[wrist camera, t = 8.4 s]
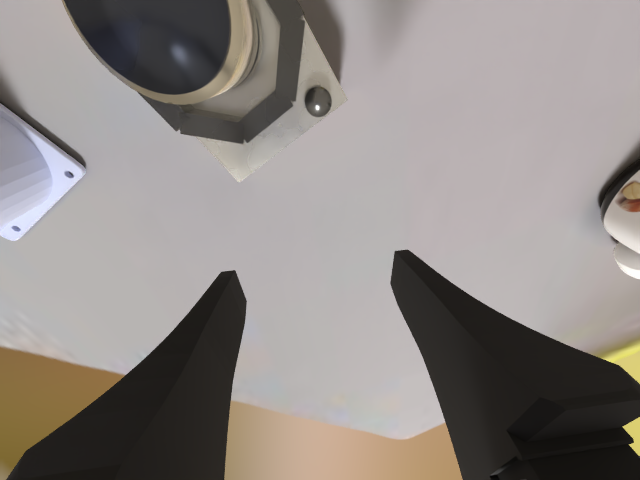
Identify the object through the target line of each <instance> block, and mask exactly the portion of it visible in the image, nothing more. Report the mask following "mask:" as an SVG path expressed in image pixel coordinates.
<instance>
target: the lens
mask: <svg viewBox="0 0 640 480" xmlns="http://www.w3.org/2000/svg"><path fill="white" fill-rule="evenodd" d="M62 2H63V5H64V7H65V9H66V12H67V14H68V15H69V17H70V19H71V21H72V23H73V25H74V27H75V28H76V30H77V32H78V33H79V35H80V37H81V38H82V40H83V41H84V42H85V44H86V45H87V46H88V48H89V49H90V51H91V52H92V53H93V54H94V55H95V56H96V58H97V59H98V60H99V61H100V62H101V63H102V64H103V65H104V66H105V67H106V68H107V69H108V70H109V71H110V72H111V73H112V74H113V75H114V76H116V77H117V78H118V79H119V80H121V81H122V82H123V83H125V84H126V85H128V86H129V87H130V88H132V89H134V90H135V91H137V92H139V93H141V94H143V95H145V96H147V97H149V98H152V99H154V100H157V101H161V102H164V103H170V104H180V105H186V104H194V103H198V102H201V101H204V100H206V99H209V98H211V97H214V96H216V95H218V94H221V93H223V92H226V91H228V90H230V89H233V88H235V87H238V86H240V85H242V84H243V83H245V82H246V81H247V80H248V79H249V78H250V77H251V76H252V75H253V73H254V72H255V70H256V68H257V66H258V64H259V61H260V57H261V52H262V30H261V25H260V21H259V17H258V14H257V12H256V9H255V7H254V5H253V3H252V1H251V0H62Z"/></svg>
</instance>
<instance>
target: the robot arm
mask: <svg viewBox="0 0 640 480" xmlns="http://www.w3.org/2000/svg"><path fill="white" fill-rule="evenodd" d="M69 171H70V172H71V173H72V174H73V175H74V176H72V175H71V174H70V173H69ZM85 173H86V170H85V168H84V166H83V165H82V164H80V163H79V162H78V161H76V160H75V159H74V158H72V157H71V156H70V155H68V154H67V153H66V152H64V151H63V150H62V149H60V148H59V147H58V146H56V145H55V144H54V143H52V142H51V141H50V140H48V139H47V138H46V137H44V136H43V135H42V134H40V133H39V132H38V131H37V130H35V129H34V128H33V127H31V126H30V125H29V124H27V123H26V122H25V121H23V120H22V119H21V118H19V117H18V116H17V115H15V114H14V113H13V112H11V111H10V110H9V109H7V108H6V107H5V106H3V105H2V104H1V103H0V235H1V236H2V237H4V238H6V239H9V240H13V241H15V240H18V239H19V238H21V237H22V236H23V235H24V234H25V233H26V232H27V231H28V230H29V229H30V228H31V227H32V226H33V225H34V224H35V223H36V222H37V221H38V220H39V219H40V218H41V217H42V216H43V215H44V214H45V213H46V212H47V211H48V210H49V209H50V208H51V207H52V206H53V205H54V204H55V203H56V202H57V201H58V200H59V199H60V198H61V197H62V196H63V195H64V194H65V193H66V192H68V191H69V190H70V189H71V188H72V187H73V186H74V185H75V184H76V183H77V182H78V181H79V180H80V179H81V178H82V177H83V176H84V175H85ZM391 286H392V290H393V293H394V296H395V298H396V301H397V304H398V306H399V308H400V310H401V312H402V314H403V317H404V319H405V321H406V323H407V325H408V327H409V329H410V331H411V333H412V335H413V337H414V339H415V341H416V343H417V345H418V347H419V350H420V352H421V354H422V356H423V359H424V362H425V364H426V367H427V370H428V372H429V375H430V378H431V381H432V383H433V386H434V389H435V392H436V395H437V398H438V401H439V403H440V406H441V409H442V413H443V416H444V419H445V422H446V425H447V428H448V431H449V434H450V437H451V441H452V444H453V447H454V451H455V454H456V457H457V461H458V464H459V468H460V471H461V475H462V478H463V480H640V456H638V455H637V454H636V453H635V451H634V450H633V449H632V448H631V447H630V446H629V445H628V444H631V443H634V441H633V438H632V437H631V436H630V435H629V434H628V433H627V432H626V431H625V430H624V428H623V427H622V426H624V425H626V424H628V423H629V422H631V421H633V420H635V419H636V418H638V417H640V384H639V383H638V382H637V381H635V379H634V378H632V377H631V376H630V375H629V374H628V373H627V372H626V371H625V370H624V369H623V368H621V367H620V366H619V365H616V364H614V363H611V362H609V361H606V360H603V359H601V358H598V357H596V356H593V355H591V354H588V353H585V352H583V351H580V350H578V349H575V348H573V347H570V346H568V345H566V344H563V343H561V342H559V341H556V340H554V339H552V338H550V337H547V336H545V335H543V334H541V333H539V332H537V331H534V330H532V329H530V328H528V327H526V326H524V325H522V324H520V323H518V322H516V321H514V320H512V319H510V318H508V317H506V316H505V315H503V314H501V313H499V312H497V311H495V310H494V309H492V308H490V307H489V306H487V305H485V304H483V303H482V302H480V301H478V300H477V299H475V298H473V297H472V296H470V295H469V294H467V293H466V292H464V291H463V290H461V289H460V288H458V287H457V286H455V285H454V284H453V283H451V282H450V281H448V280H447V279H446V278H444V277H443V276H441V275H440V274H439V273H437V272H436V271H435V270H434V269H432V268H431V267H430V266H428V265H427V264H426V263H425V262H423V261H422V260H421V259H419V258H418V257H417V256H416V255H414V254H413V253H412V252H410V251H409V250H401V251H395V254H394V261H393V268H392V276H391ZM246 302H247V301H246V298H245V296H244V293H243V290H242V287H241V285H240V282H239V279H238V277H237V274H236V271H235V270H233V271H225V272H221V273H220V274H219V275H218V277H217V278H216V279H215V280H214V282H213V283H212V284H211V286H210V287H209V288H208V289H207V291H206V292H205V293H204V294H203V296H202V297H201V298H200V300H199V301H198V302H197V303H196V304H195V306H194V307H193V308H192V309H191V311H190V312H189V313H188V314H187V315H186V316H185V318H184V319H183V320H182V321H181V322H180V323H179V324H178V325H177V327H176V328H175V329H174V330H173V331H172V332H171V333H170V334H169V335H168V336H167V337H166V338H165V339H164V340H163V341H162V342H161V343H160V344H159V345H158V346H157V347H156V348H155V349H154V350H153V351H152V352H151V353H150V354H149V355H148V356H147V357H146V358H145V359H144V360H143V361H141V362H140V363H139V364H138V365H137V366H136V367H135V368H133V369H132V370H131V371H130V372H129V373H128V374H127V375H126V376H124V377H123V378H122V379H121V380H120V381H119V382H117V383H116V384H115V385H114V386H113V387H111V388H110V389H109V390H108V391H106V392H105V393H104V394H103V395H102V396H100V397H99V398H98V399H96V400H95V401H94V402H93V403H91V404H90V405H89V406H87V407H86V408H85V409H84V410H82V411H81V412H80V413H78V414H77V415H76V416H75V417H73V418H72V419H70V420H69V421H68V422H66V423H65V424H63V425H62V426H60V427H59V428H58V429H56V430H55V431H54V432H52V433H51V434H49V436H47V437H45V438H44V439H42V440H41V441H40V442H38V443H37V444H35V445H34V446H32V447H31V448H30V449H28V450H27V451H26V452H25V453H24V455H23V456H22V457H21V459H20V460H19V462H18V463H17V465H16V466H15V468H14V469H13V471H12V472H11V474H10V475H9V476H8V478H7V479H6V480H224V472H225V457H226V443H227V432H228V420H229V410H230V401H231V392H232V384H233V378H234V372H235V367H236V362H237V358H238V353H239V348H240V344H241V339H242V334H243V329H244V324H245V316H246Z"/></svg>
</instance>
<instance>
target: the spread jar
mask: <svg viewBox="0 0 640 480" xmlns="http://www.w3.org/2000/svg"><path fill="white" fill-rule="evenodd" d="M600 214H601V221H602V223H603V225H604V227H605V229H606V230H607V232H608V233H609V234H611V235H612V236H613V237H614V238H615V239H616V240H618V241H619V243H618V244H617V245H616V247H615V248H614V253H613V254H614V257H615V259H616V261H617V263H618V266H619V267H620V268H621V270H622V271H624V272H625V273H626V274H628V275H630V276H632V277H634V278H637V279H640V159H639V160H638V161H636V162H635V163H634V164H632V165H631V166H630V167H628V168H627V169H626V170H625V171H624V172H623V173H622V174H621V175H620V176H619V177H618V178H617V179H616V180H615V181H614V182H613V184H612V185H611V186H610V188H609V189H608V191H607V193H606V195H605V197H604V200H603V202H602V206H601V213H600Z"/></svg>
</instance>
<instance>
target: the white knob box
mask: <svg viewBox="0 0 640 480" xmlns="http://www.w3.org/2000/svg"><path fill="white" fill-rule="evenodd" d="M251 1H252V3H253V5H254V7H255V9H256V12H257V14H258V17H259V21H260V25H261V30H262V52H261V57H260V61H259V64H258V66H257V68H256V70H255V72H254V73H253V75H252V76H251V77H250V78H249V79H248V80H247V81H246V82H245V83H243V84H242V85H240V86H238V87H235V88H233V89H230V90H228V91H226V92H223V93H221V94H218V95H216V96H214V97H211V98H209V99H206V100H204V101H201V102H198V103H194V104H186V105H180V104H170V103H164V102H161V101H157V100H154V99H152V98H149V97H147V96H145V95H143V94H141V93H139V92H138V93H139V94H140V95H141V96H142V97H143V98H144V99H145V100H146V101H147V102H148V103H149V104H150V105H151V106H152V107H153V108H154V109H155V110H156V111H157V112H158V113H159V114H160V115H161V116H162V117H163V118H164V119H165V120H166V121H167V123H168V124H169V125H170V126H171V127H172V128H173V129H174V130H175V131H178V130H179V129H180V131H181V134H185V135H191V136H195V137H196V138H197V139H198V140H199V141H200V142H201V143H202V144H203V145H204V146H205V148H206V149H207V150H208V151H209V152H210V153H211V154H212V155H213V156H214V157H215V158H216V159H217V160H218V161H219V162H220V163H221V164H222V165H223V166H224V167H225V168H226V170H227V171H228V172H229V173H230V174H231V175H232V176H233V177H234V178H235V179H236V180H237V181H238V182H239V183H240V182H241V181H242V180H243V179H245V178H246V177H247V176H249V175H250V174H251V173H253V172H254V171H255V170H257V169H258V168H259V167H261V166H262V165H263V164H264V163H266V162H267V161H268V160H270V159H271V158H272V157H274V156H275V155H276V154H278V153H279V152H280V151H281V150H283V149H284V148H285V147H287V146H288V145H289V144H291V143H292V142H293V141H295V140H296V139H297V138H299V137H300V136H301V135H302V134H304V133H305V132H306V131H308V130H309V129H310V128H312V127H313V126H314V125H316V124H317V123H318V122H319V121H321V120H322V119H323V118H325V117H326V116H327V115H329V114H330V113H331V112H333V111H334V110H335V109H337V108H338V107H339V106H340V105H342V104H343V103H344V102H346V101H347V100H348V99H347V97H346V95H345V93H344V92H343V90H342V88H341V86H340V84H339V82H338V80H337V78H336V76H335V75H334V73H333V71H332V69H331V67H330V65H329V63H328V61H327V59H326V58H325V56H324V54H323V52H322V50H321V48H320V46H319V44H318V42H317V41H316V39H315V37H314V35H313V33H312V31H311V29H310V27H309V25H308V24H307V22H306V20H305V18H304V13H303V11H302V9H301V7H300V5H299V3H298V1H297V0H251Z"/></svg>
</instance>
